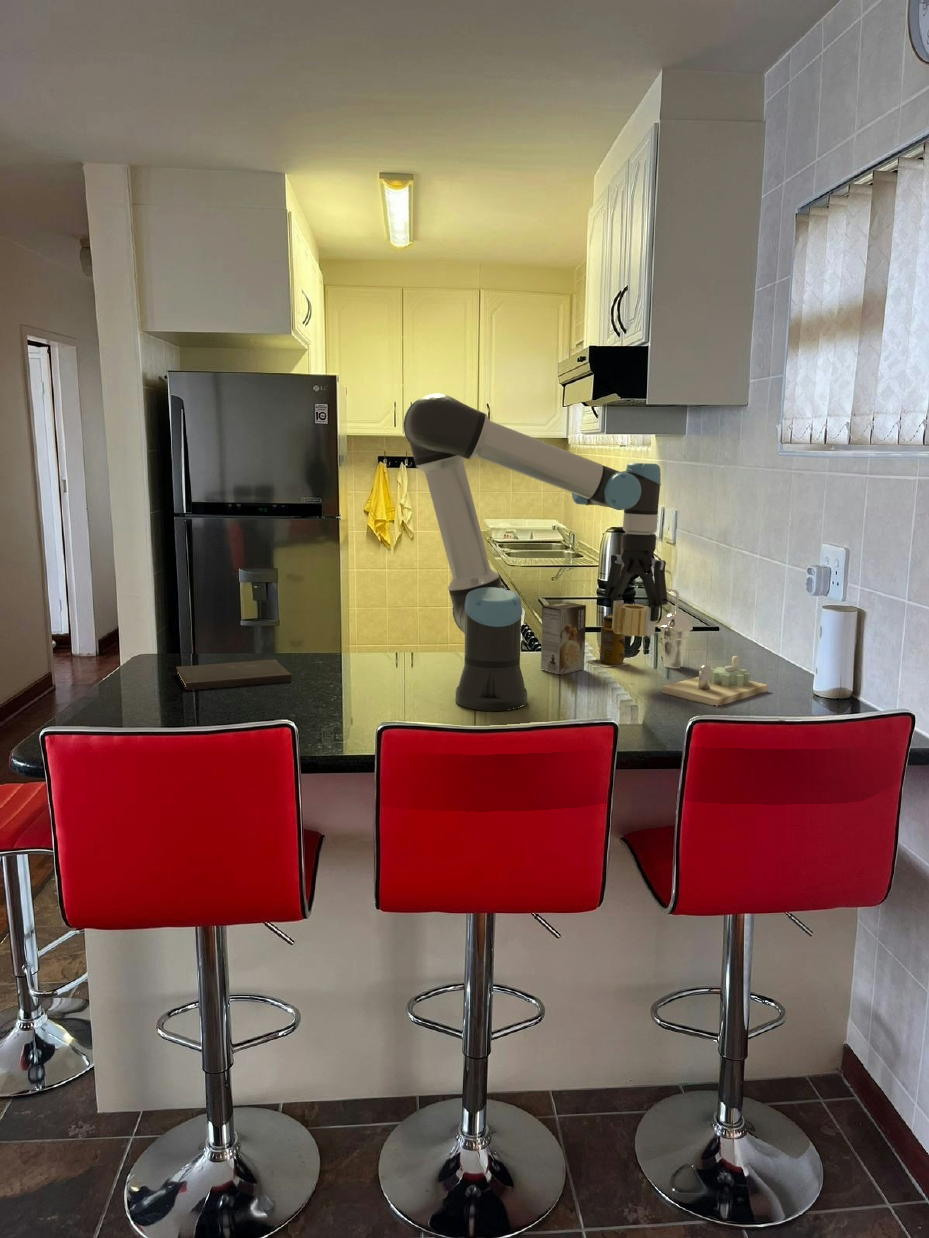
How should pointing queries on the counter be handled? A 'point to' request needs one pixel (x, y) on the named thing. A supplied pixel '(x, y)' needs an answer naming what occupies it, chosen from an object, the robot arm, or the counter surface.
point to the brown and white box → (563, 637)
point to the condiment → (610, 646)
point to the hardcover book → (233, 674)
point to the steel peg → (704, 677)
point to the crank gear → (730, 675)
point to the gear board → (713, 691)
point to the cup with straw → (674, 635)
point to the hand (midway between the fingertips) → (633, 631)
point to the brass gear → (630, 620)
